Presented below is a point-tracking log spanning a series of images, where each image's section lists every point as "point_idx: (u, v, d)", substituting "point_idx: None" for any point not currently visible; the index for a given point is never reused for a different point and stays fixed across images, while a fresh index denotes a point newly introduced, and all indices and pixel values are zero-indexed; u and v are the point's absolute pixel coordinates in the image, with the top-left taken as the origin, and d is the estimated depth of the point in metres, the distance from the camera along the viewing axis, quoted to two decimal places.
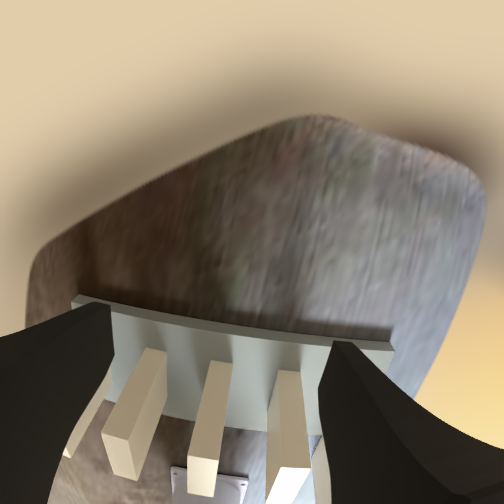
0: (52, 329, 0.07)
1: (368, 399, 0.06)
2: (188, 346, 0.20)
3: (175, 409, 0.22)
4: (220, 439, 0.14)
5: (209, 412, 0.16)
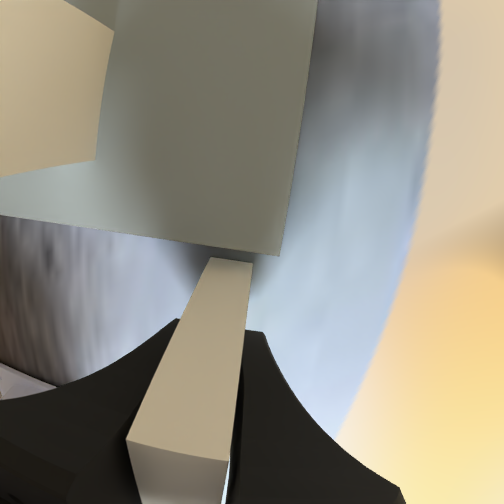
0: (153, 356, 0.07)
1: (243, 390, 0.06)
2: None
3: None
4: None
5: None
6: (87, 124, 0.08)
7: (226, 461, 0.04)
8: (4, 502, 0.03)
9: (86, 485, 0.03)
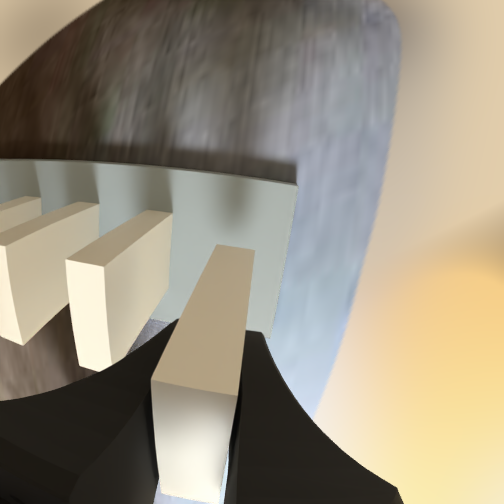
0: (154, 356, 0.07)
1: (241, 390, 0.06)
2: (58, 186, 0.17)
3: None
4: (25, 235, 0.10)
5: (37, 222, 0.12)
6: (165, 274, 0.17)
7: (235, 395, 0.05)
8: (6, 503, 0.03)
9: (89, 486, 0.03)
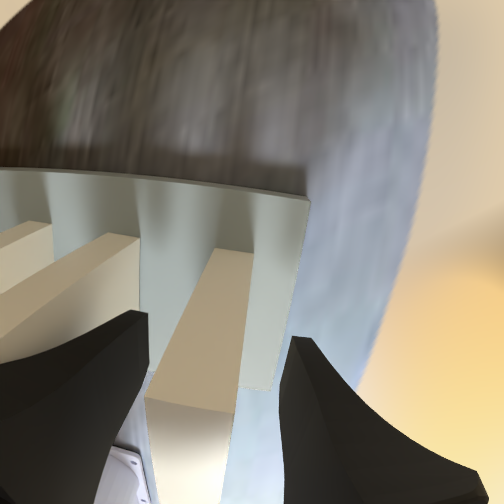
0: (95, 342, 0.07)
1: (313, 397, 0.06)
2: (7, 201, 0.12)
3: None
4: None
5: None
6: None
7: (232, 413, 0.05)
8: None
9: None
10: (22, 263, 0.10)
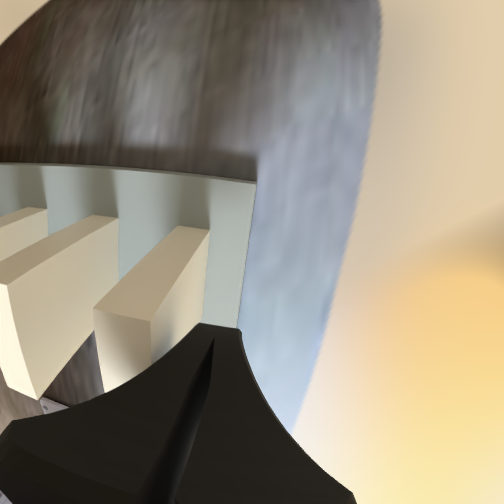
0: (184, 362, 0.07)
1: (209, 385, 0.06)
2: (10, 191, 0.14)
3: None
4: None
5: None
6: (113, 286, 0.15)
7: (148, 321, 0.07)
8: None
9: (141, 503, 0.03)
10: (21, 240, 0.13)
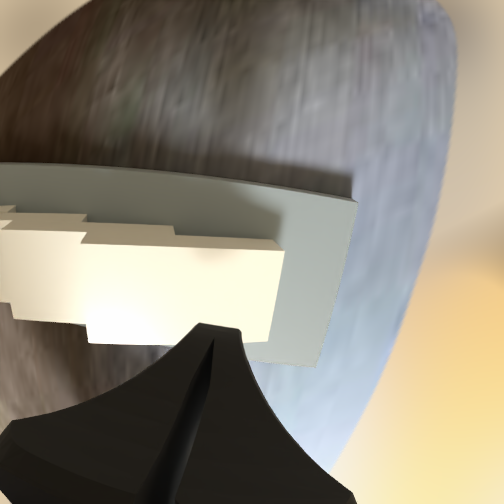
0: (184, 362, 0.07)
1: (210, 385, 0.06)
2: (69, 196, 0.14)
3: None
4: None
5: (2, 215, 0.12)
6: None
7: (80, 243, 0.11)
8: None
9: (141, 503, 0.03)
10: None
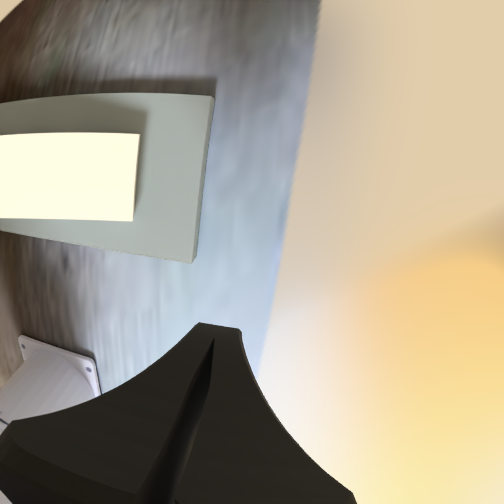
0: (184, 362, 0.07)
1: (210, 385, 0.06)
2: (9, 123, 0.15)
3: None
4: None
5: None
6: None
7: None
8: None
9: (141, 503, 0.03)
10: None
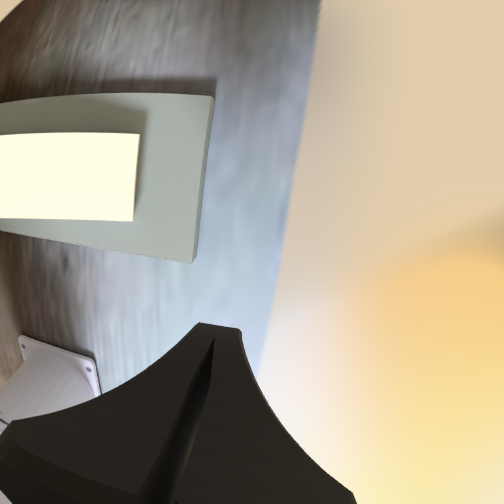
0: (184, 362, 0.07)
1: (210, 385, 0.06)
2: (9, 123, 0.15)
3: None
4: None
5: None
6: None
7: None
8: None
9: (141, 503, 0.03)
10: None
